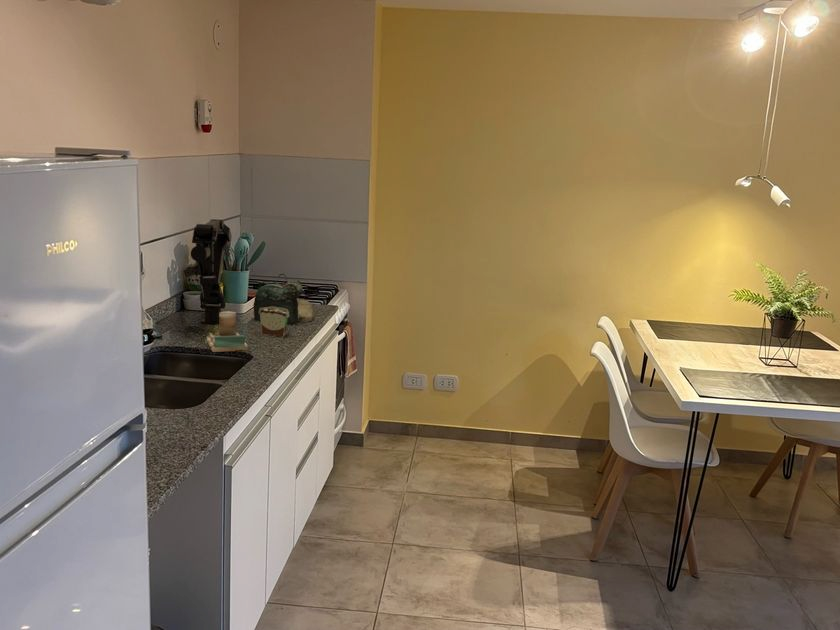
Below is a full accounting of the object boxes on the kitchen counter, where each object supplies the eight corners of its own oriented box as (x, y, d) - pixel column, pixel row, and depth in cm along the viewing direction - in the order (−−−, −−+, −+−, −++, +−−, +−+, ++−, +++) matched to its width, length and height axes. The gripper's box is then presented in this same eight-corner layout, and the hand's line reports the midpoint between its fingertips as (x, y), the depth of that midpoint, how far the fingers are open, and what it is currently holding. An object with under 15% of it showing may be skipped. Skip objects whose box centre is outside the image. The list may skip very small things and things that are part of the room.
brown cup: (217, 340, 273) (217, 311, 271) (234, 339, 276) (235, 311, 274) (220, 344, 268) (220, 315, 266) (237, 343, 270) (237, 314, 268)
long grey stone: (291, 326, 314) (316, 327, 316) (292, 313, 313) (317, 315, 315) (287, 303, 347) (309, 305, 349) (288, 292, 346) (310, 293, 348)
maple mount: (206, 340, 279) (206, 326, 278) (240, 338, 284) (240, 325, 283) (212, 351, 265) (212, 337, 264) (247, 350, 269) (247, 336, 268)
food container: (294, 334, 294) (295, 309, 292) (287, 338, 289) (287, 312, 286) (266, 330, 298) (266, 305, 296) (258, 333, 292) (258, 308, 290)
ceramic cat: (302, 323, 314) (303, 274, 309) (296, 326, 307) (297, 277, 303) (257, 317, 318) (258, 270, 314) (250, 321, 312) (251, 272, 308)
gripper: (180, 254, 294) (181, 294, 297) (185, 261, 277) (186, 304, 281) (210, 254, 298) (210, 293, 302) (217, 261, 282) (217, 303, 285)
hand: (205, 298), depth 292 cm, fingers closed
